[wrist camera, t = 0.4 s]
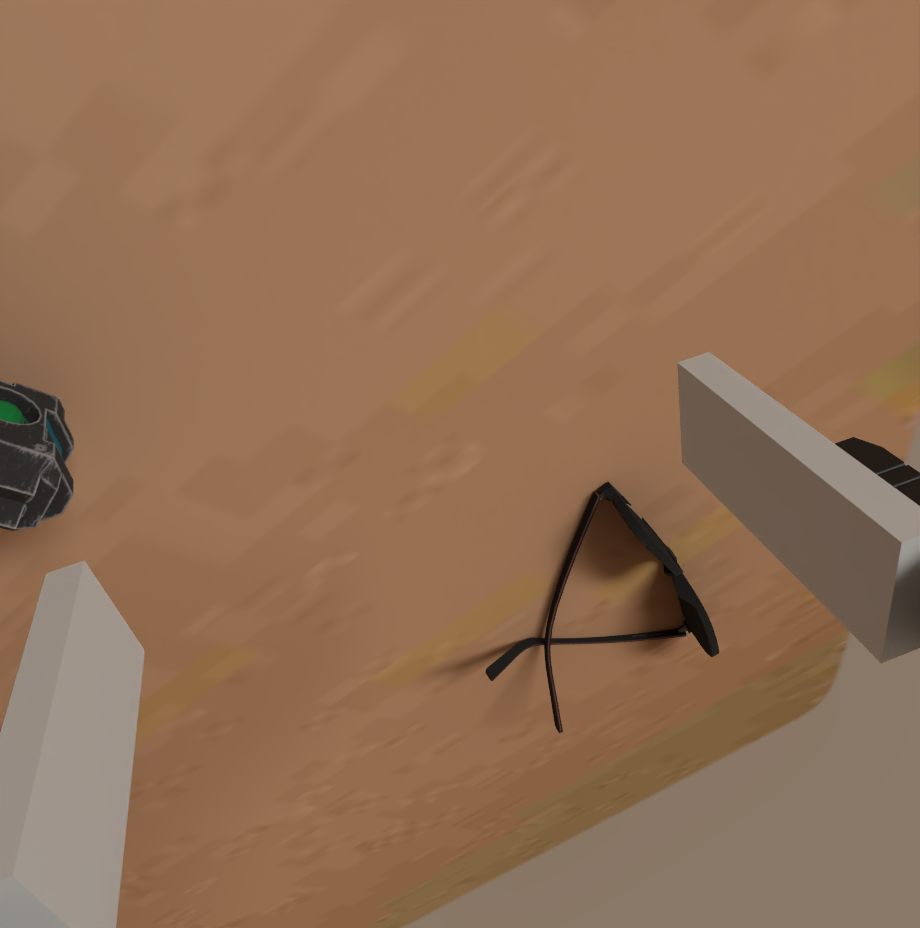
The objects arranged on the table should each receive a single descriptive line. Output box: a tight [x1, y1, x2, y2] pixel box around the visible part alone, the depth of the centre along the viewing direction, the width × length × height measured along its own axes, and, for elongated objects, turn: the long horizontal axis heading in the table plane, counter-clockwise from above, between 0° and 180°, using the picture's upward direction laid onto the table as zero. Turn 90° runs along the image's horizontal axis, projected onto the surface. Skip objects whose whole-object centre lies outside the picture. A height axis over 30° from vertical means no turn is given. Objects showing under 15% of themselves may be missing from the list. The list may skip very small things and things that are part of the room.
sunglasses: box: [486, 482, 719, 733], centre depth 50 cm, size 17×14×5 cm
